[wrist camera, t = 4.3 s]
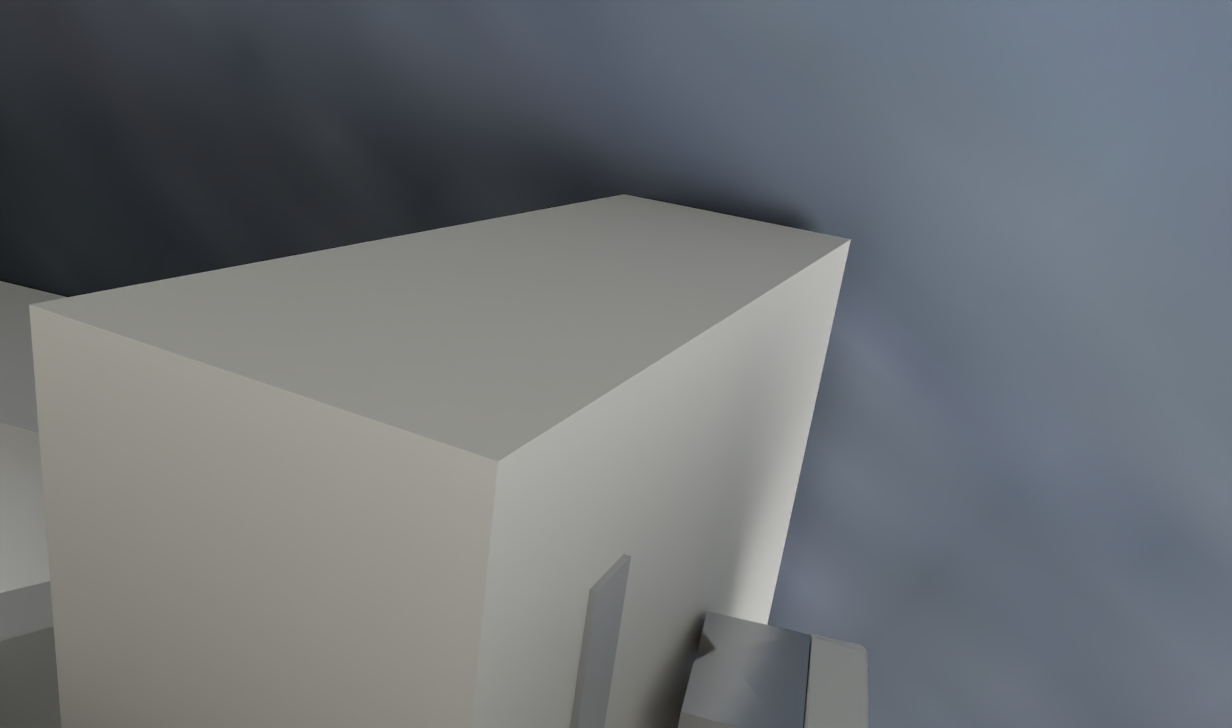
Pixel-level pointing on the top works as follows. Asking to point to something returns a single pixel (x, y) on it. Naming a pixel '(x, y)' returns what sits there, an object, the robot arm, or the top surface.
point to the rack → (20, 446)
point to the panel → (429, 471)
